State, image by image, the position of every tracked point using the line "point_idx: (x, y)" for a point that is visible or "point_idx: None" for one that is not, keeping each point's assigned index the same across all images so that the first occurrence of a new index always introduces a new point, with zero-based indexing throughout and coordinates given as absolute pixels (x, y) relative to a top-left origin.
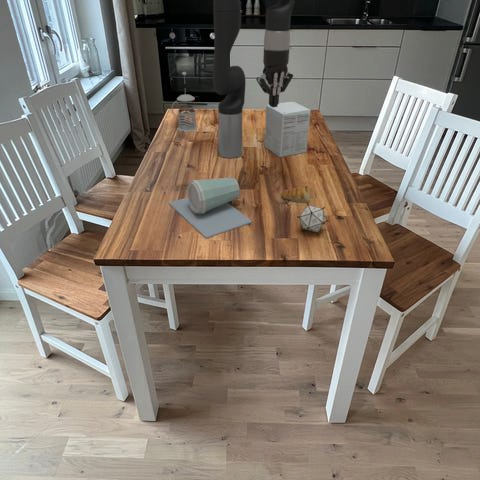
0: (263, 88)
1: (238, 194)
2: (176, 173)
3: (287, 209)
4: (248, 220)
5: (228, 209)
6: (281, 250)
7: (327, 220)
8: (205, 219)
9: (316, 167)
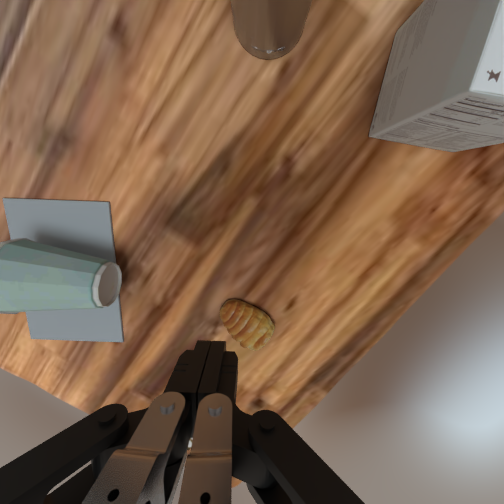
0: (57, 454)
1: (112, 301)
2: (67, 54)
3: None
4: (118, 336)
5: None
6: None
7: None
8: None
9: (390, 242)
